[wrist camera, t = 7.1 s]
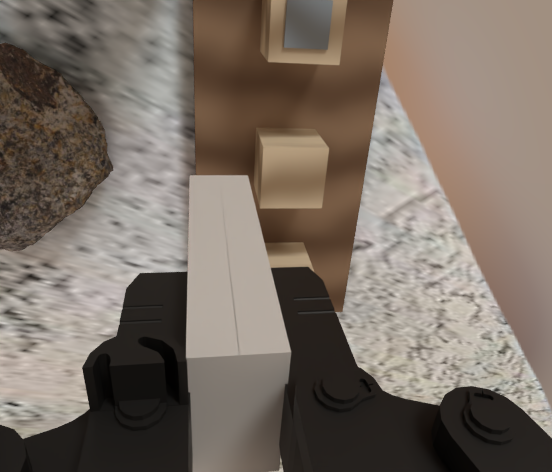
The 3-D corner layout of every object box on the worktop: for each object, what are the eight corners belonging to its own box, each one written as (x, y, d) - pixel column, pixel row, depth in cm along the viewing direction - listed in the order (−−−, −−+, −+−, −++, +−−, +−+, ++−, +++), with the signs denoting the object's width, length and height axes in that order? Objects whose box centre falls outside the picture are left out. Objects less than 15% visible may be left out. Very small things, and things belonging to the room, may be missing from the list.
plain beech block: (256, 127, 40) (263, 147, 36) (315, 129, 41) (329, 148, 36) (253, 183, 42) (260, 208, 38) (309, 184, 43) (321, 208, 39)
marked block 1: (251, 243, 45) (256, 273, 41) (303, 242, 46) (314, 272, 41) (248, 287, 48) (254, 320, 43) (298, 285, 48) (308, 318, 44)
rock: (25, 245, 45) (143, 142, 42) (4, 285, 39) (138, 169, 36) (-111, 147, 38) (18, 18, 36) (-158, 178, 33) (-11, 29, 30)
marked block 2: (263, -23, 35) (272, -22, 30) (330, -19, 35) (350, -16, 31) (259, 50, 37) (268, 62, 32) (323, 54, 38) (340, 65, 33)
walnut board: (191, -86, 34) (191, -88, 32) (394, -67, 36) (404, -69, 34) (198, 305, 50) (198, 317, 48) (337, 300, 52) (342, 311, 51)
